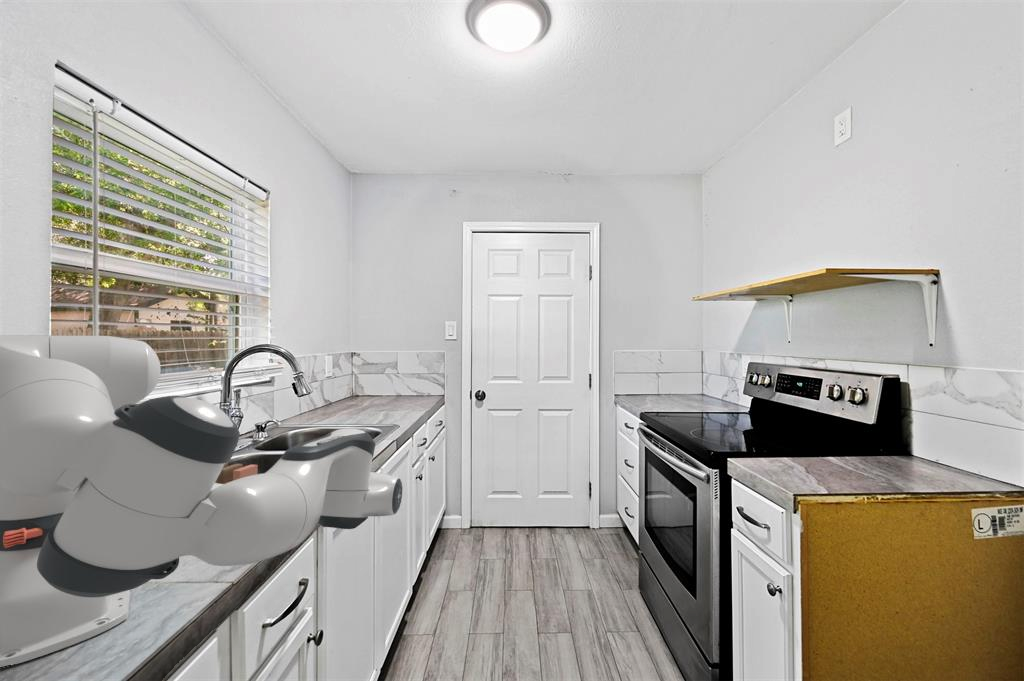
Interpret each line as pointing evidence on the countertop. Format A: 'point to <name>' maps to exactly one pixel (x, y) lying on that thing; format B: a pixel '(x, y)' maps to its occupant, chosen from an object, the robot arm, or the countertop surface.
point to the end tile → (245, 471)
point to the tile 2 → (228, 473)
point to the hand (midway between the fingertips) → (274, 486)
